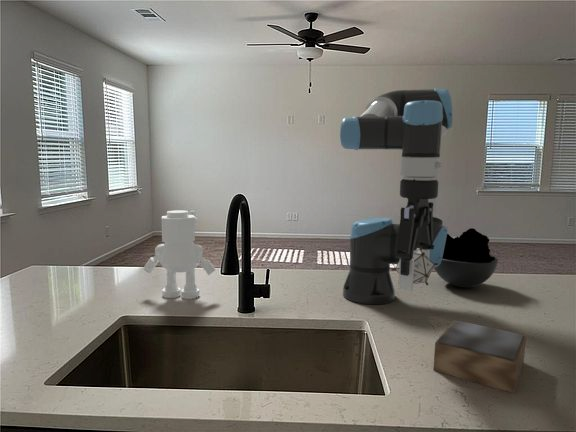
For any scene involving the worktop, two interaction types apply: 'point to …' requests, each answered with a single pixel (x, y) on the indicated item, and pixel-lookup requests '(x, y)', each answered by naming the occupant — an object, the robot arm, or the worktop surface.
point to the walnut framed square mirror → (481, 355)
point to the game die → (420, 267)
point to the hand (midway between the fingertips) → (413, 283)
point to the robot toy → (179, 254)
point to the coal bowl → (467, 260)
